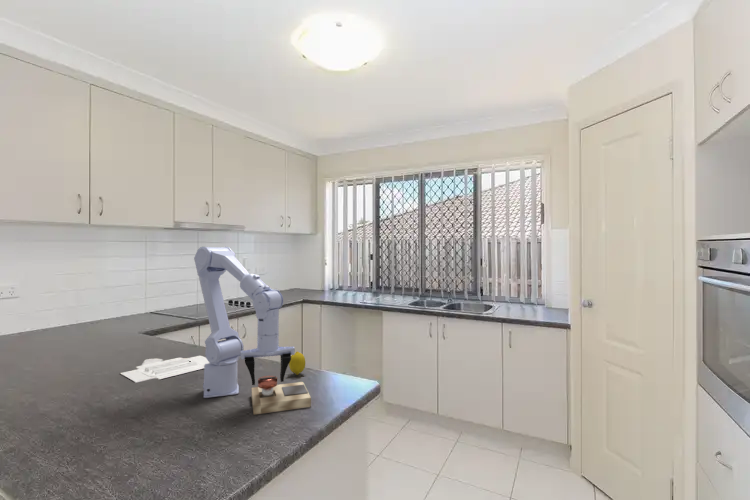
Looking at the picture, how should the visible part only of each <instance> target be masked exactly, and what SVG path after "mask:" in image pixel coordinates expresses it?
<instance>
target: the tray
mask: <svg viewBox="0 0 750 500" xmlns="http://www.w3.org/2000/svg"><path fill="white" fill-rule="evenodd" d="M189 361H191V362H189ZM208 363H209V361H208V360H207V358H206V356H203V355H196V356H191V357H187V358H183V357H176V358H171V359H165V360H164V359H163V358H156V357H155V358H152V357H151V358H149V359H148V358H147V359H145V360H144V361H142V364H141V365H137V366H135V368H136V369H133V370H129V371H123V372H120V373H119V375H120V374H121V375H122V376H123V377H126V378H128V379H130V381H133V382H134V383H135V384H136V383H140V382H144V381H145V382H146V381H148V380H152V379H156V380H159V381H161V380H162V379H166V378H170V377H174V376H178V375H183V374H186V373H191V372H195V371H197V370H198V371H199V370H202V369H203V370H204V367H205V364H208Z"/></svg>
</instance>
